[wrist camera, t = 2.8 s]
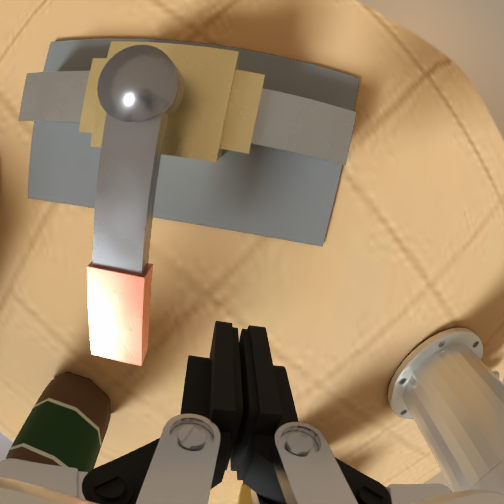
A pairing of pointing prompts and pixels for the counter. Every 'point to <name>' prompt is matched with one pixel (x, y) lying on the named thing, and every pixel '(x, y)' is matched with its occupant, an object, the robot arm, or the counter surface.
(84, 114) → the valve
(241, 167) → the mat
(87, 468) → the beer bottle
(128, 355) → the lever
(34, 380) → the counter surface
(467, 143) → the counter surface
